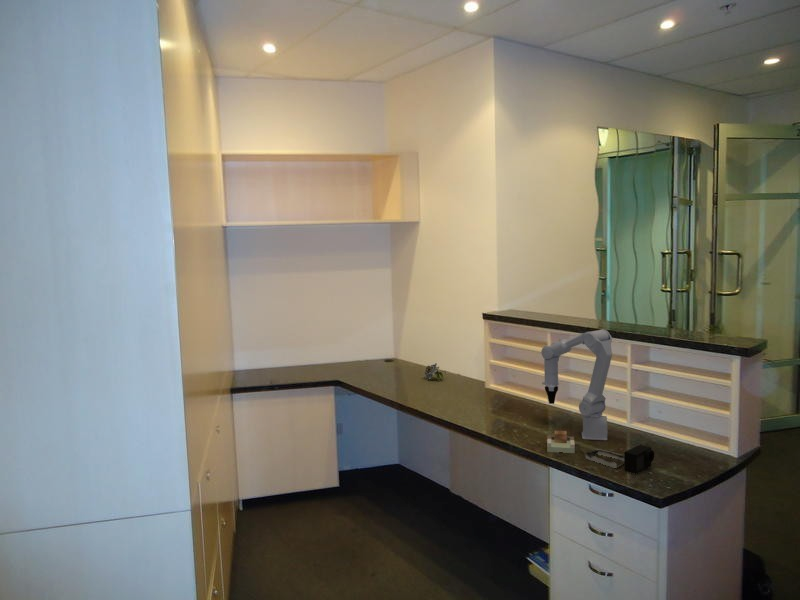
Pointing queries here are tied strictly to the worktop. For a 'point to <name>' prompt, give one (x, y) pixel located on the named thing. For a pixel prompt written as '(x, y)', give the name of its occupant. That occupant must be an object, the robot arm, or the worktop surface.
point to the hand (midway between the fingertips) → (551, 403)
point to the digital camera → (638, 459)
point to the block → (560, 436)
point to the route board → (560, 445)
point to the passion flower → (433, 372)
